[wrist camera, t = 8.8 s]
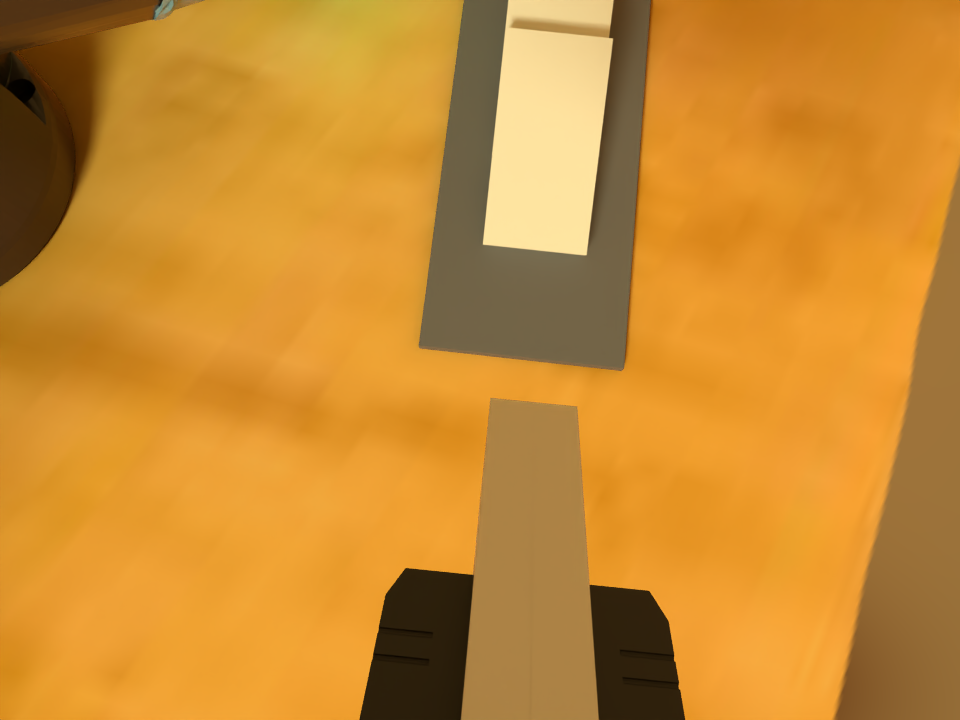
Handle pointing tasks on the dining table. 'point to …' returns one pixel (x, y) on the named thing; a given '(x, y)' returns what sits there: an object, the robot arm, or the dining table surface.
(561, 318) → the mat
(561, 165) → the domino
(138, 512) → the dining table surface
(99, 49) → the dining table surface
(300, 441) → the dining table surface
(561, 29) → the domino
